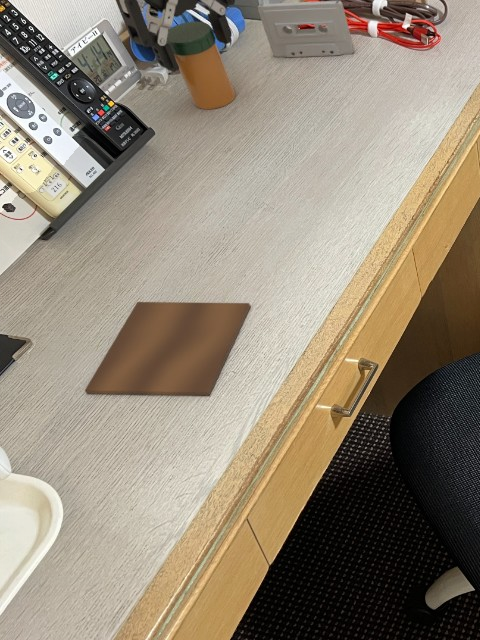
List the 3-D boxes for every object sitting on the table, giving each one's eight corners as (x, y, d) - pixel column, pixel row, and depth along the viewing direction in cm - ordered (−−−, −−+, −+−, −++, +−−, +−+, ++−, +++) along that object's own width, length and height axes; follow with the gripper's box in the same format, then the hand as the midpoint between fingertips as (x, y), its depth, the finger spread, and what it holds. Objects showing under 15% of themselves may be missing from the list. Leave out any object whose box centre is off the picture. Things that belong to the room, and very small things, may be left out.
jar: (189, 110, 112) (160, 45, 105) (199, 89, 116) (172, 24, 109) (230, 108, 113) (204, 43, 106) (239, 86, 116) (215, 22, 109)
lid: (194, 30, 111) (189, 17, 110) (225, 40, 109) (220, 27, 108) (159, 49, 108) (153, 36, 106) (190, 59, 106) (184, 47, 104)
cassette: (355, 49, 123) (342, -2, 117) (353, 55, 122) (340, 4, 116) (275, 52, 123) (258, 2, 117) (272, 58, 122) (255, 8, 116)
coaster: (86, 393, 78) (84, 390, 78) (139, 305, 87) (137, 301, 86) (209, 395, 78) (207, 392, 78) (250, 306, 86) (249, 302, 86)
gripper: (116, -45, 91) (174, 87, 103) (217, -88, 99) (260, 39, 111) (74, -58, 94) (135, 72, 106) (176, -99, 102) (222, 26, 114)
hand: (199, 55), depth 108 cm, fingers open, 8 cm apart
